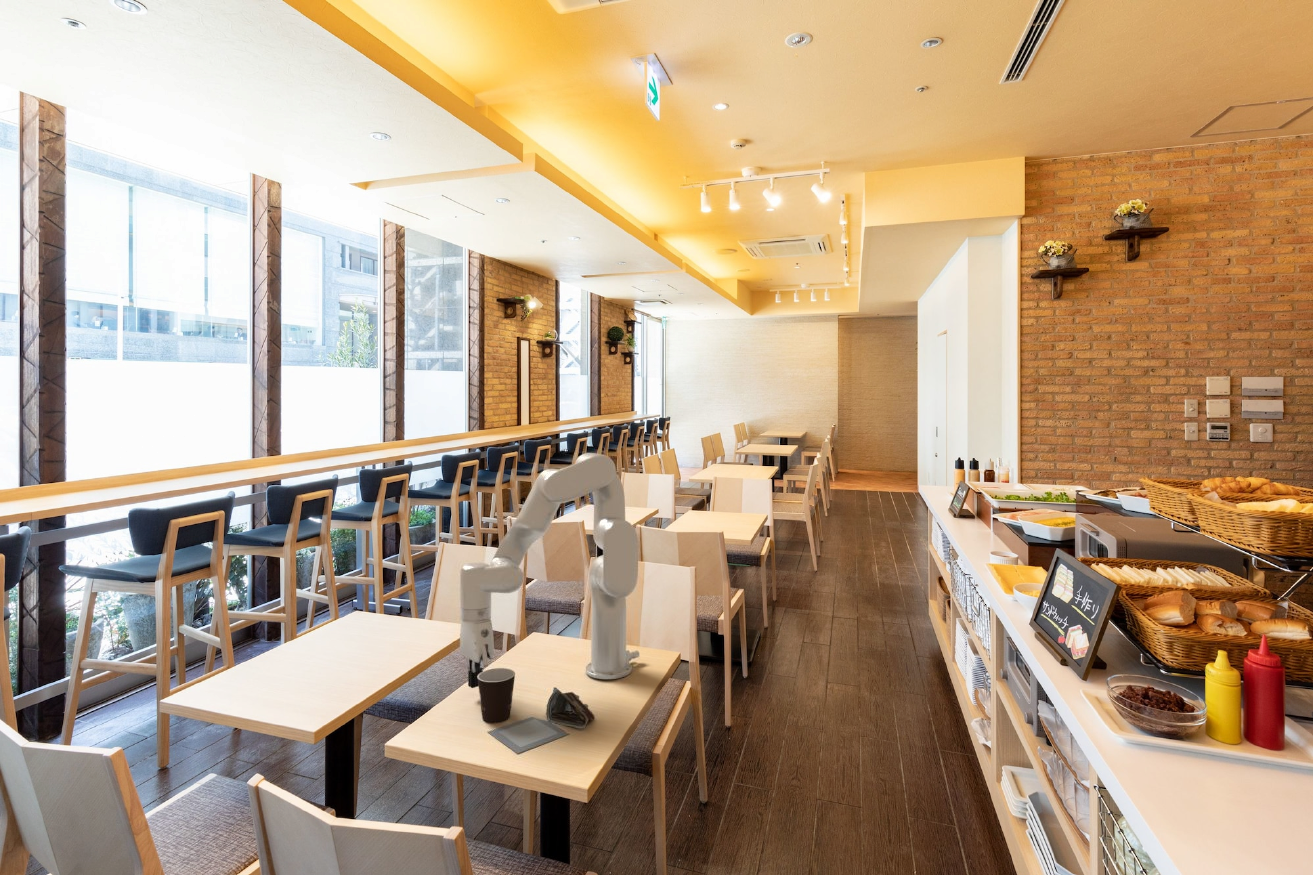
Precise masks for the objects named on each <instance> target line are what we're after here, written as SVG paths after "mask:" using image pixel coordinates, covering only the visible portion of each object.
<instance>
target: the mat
mask: <svg viewBox="0 0 1313 875" xmlns="http://www.w3.org/2000/svg"><path fill="white" fill-rule="evenodd" d="M487 734H488V735H491V737H493V738H494V739H496V740H497V741H499V742H501V743H502V744H503V745H504V746H506V747H507V748H508V749H510V751H512V752H514V753H516V754H517V755H519V754H521V753H524V752H527V751H529V750H532V749H534V748H538V747H541V746H542V745H545V744H548V743H550V742H553V741H556V740H558V739H561V738H563V737H566V736H568V735H570V733H569V732H567V731H566V730H564V729H562V728H561V727H559V726H558V725H557V724H554V723H552V722H549V721H548V720H546V719H543V718H538V717H533V716H530V717H527V718H523V719H521V720H517V721H515V722H512V723H508V724H507V725H503V726H500V727H497V728H495V729H492V730H489V731H487Z"/></svg>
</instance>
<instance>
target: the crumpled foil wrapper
mask: <svg viewBox="0 0 1313 875" xmlns="http://www.w3.org/2000/svg"><path fill="white" fill-rule="evenodd" d="M566 711H568V712H566ZM545 715H546V719H547V721H549V722H551V723H553V724H554V723H555V725H562V726H567V727H572V728H576V729H581V730H582V729H585V728H586V726H587V724H588V721H591V720H595V714H594V713H593V712H592V710H590V709H589V704H587V703H583V701H582V700H581V699H580V695H578V694H575V693H574V692H573V691H570V692H569V691H568V692H563V691H561V690H559V689H558V688H557V687H553V689H552V693H551V695H550V697H549V698H548V700H547V704H546V710H545Z"/></svg>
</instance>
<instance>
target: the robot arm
mask: <svg viewBox="0 0 1313 875" xmlns="http://www.w3.org/2000/svg"><path fill="white" fill-rule="evenodd" d="M591 493H592V499H593V528H592V529H593V530H592V532H593V533H592V535H593V541H594V543H595V545H596V546H597V547H598V548H599V549H601V550H602V555H600V556H598V557H596V558H595V559H594V560H593V562H592V563H591V565H590V568H589V572H588V581H589V591H590V601H591V602H590V603H591V604H590V605H591V608H590V610H591V611H590V615H591V616H590V618H591V619H590V624H591V625H590V627H591V629H590V638H591V639H590V640H591V641H590V644H591V645H590V649H591V650H590V658H591V660H590V662H588V664H587V665H586V666H585V673H586V674H587V676H588V677H590V678H593V679H598V680H616V679H621V678H623V677H627V676H628V675H630V674H631V673H632V672H633V671H632V670H633V668H632V667H633V666H632V664H631V663H630V662H631V660H635V659H637V658H639V657H640V652H639V651H638V650H633V651H631V652H630V650H627V597H629V596H630V595H631V594H632V593H633V592H634V590H635V588H636V587H637V583H638V578H639V537H638V534H637V531H636V528H635V527H634V526H633V525H632V523H630V522H629V521H627V519H626V502H625V501H626V500H625V496H626V495H625V491H624V485H623V483H622V481H621V479H620V476H619V475H618V473H617V470H616V464H615V463H614V461H613V459H612V458H611V457H609V455H606V454H602V453H596V452H595V453H594V452H585V453H583V454H581V455H579V456H578V457H577V459H576V460H575V462H574V464H570V465H568V466H565V467H563V468H559V469H558V468H547V469H544V470H543V471H541V472H540V473H539V475H538V476H537V478H536V480H535V481H534V483H533V485H532V487H531V490H530V491H529V493H528V495H527V497H526V499H525V501H524V503H523V504H522V508H521V509H520V511H519V512H518V515H517V517H516V519H515V521H513V523H512V524H511V526H510V528H508V530H507V532H506V533H505V535H504V536H503V538H502V539H501V542H500V543H499V546H498V547H497V549H496V551H495V553H494V555H493V557H492V559H491V561H490V564H488V563H484V562H471V563H467V564H464V565H462V566H461V569H460V576H459V578H460V579H459V581H460V582H459V584H460V588H459V589H460V590H459V592H460V595H459V596H460V599H459V600H460V602H459V603H460V604H459V605H460V607H459V608H460V609H459V612H460V613H459V614H460V615H459V618H460V619H459V621H460V629H459V630H460V633H459V650H460V653H461V655H462V656H463V657H464V658H465V660H466V664H467V665H466V667H467V670H468V671H467V673H468V674H467V679H468V680H467V683H468V684H467V685H468V687H469V688H471V689H474V688H479V686H478V678H477V676H478V674H480V673H481V672H483V671H485V668H488V667H489V663H488V659H489V660H493V659H494V658H495V641H494V629H493V623H492V620H491V619H492V594H493V593H497V594H513V593H515V592H517V591H519V589H520V588H522V586H523V584H524V582H525V577H524V576H525V575H524V572H523V570H522V569H521V568H520V566H521V564H522V561H523V560H524V557H525V556H526V554H527V552H528V551H529V549H530V548H531V547H532V545H533V544H534V543H535V542H536V541H538V540H540V539H541V538H542V537H543V536H545V534H546V533H547V532H548V530H549V528H550V526H551V523H552V522H553V520H554V518H555V516H556V513H557V511H558V509H559V508H560V506H561V504H565V503H568V502H571V501H574V500H577V499H579V498H581V497H584V496H586V495H589V494H591Z"/></svg>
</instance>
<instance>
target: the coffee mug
mask: <svg viewBox="0 0 1313 875" xmlns="http://www.w3.org/2000/svg"><path fill="white" fill-rule="evenodd" d="M515 676H516V672H515V670H513V669H510V668H505V667H497V668H490V669H489V668H488V669H486V670H483V672H481V673H480V674H478V676H477V678H478V694H479V700H480V701H479V702H480V709H481V717H482V721H483V722H484V723H487V724H500V723H505V722H506V721H507V720H509V719H510V717H511V714H512V713H511V712H512V704H513V695H514V686H515V678H516V677H515Z"/></svg>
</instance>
